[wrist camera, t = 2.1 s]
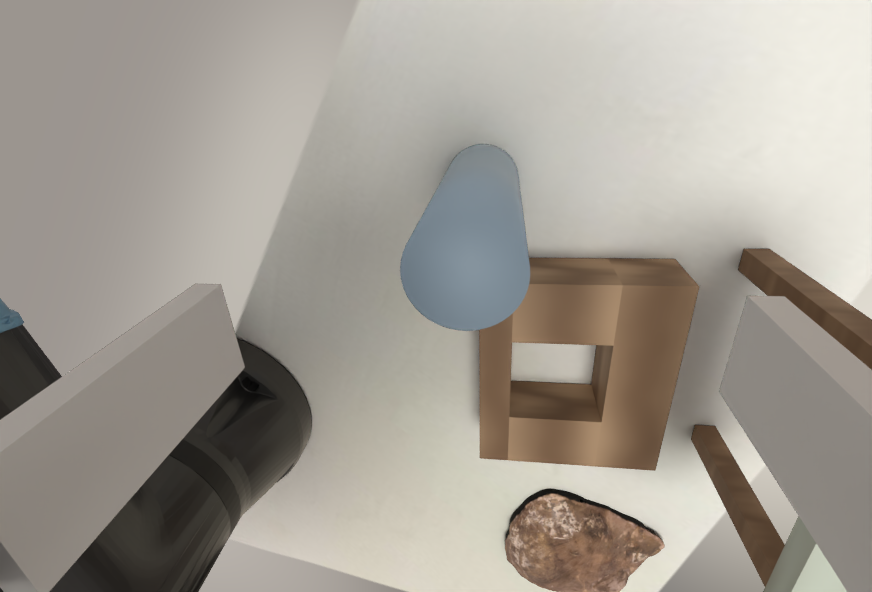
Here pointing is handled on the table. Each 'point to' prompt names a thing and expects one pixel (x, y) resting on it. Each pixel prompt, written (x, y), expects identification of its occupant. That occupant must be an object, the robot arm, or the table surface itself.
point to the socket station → (644, 384)
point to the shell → (576, 543)
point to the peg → (470, 244)
